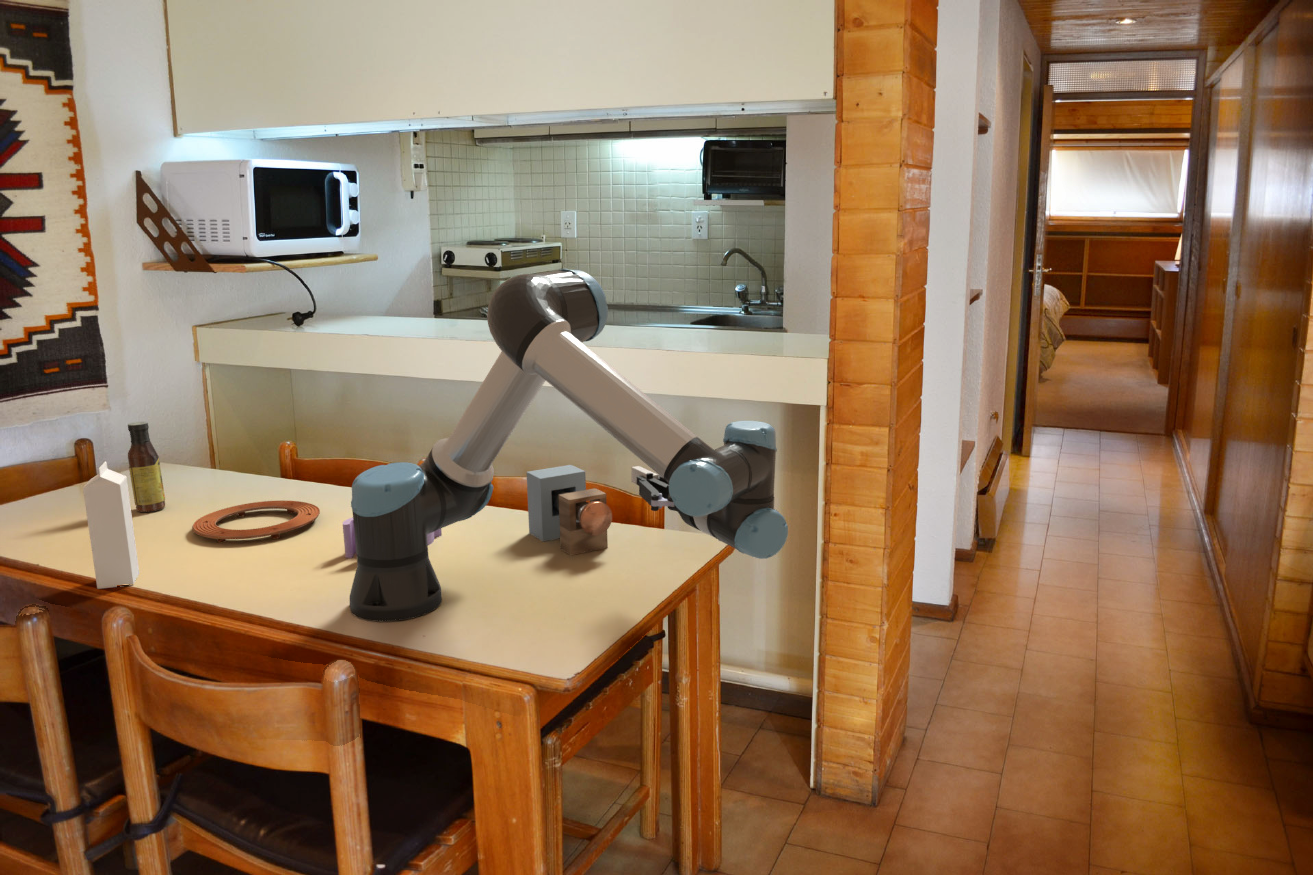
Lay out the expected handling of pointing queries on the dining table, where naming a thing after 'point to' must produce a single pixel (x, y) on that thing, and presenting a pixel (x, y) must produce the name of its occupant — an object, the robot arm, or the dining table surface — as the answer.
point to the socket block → (550, 498)
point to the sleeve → (578, 523)
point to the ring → (211, 530)
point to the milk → (111, 529)
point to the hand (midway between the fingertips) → (635, 474)
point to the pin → (588, 514)
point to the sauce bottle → (145, 470)
